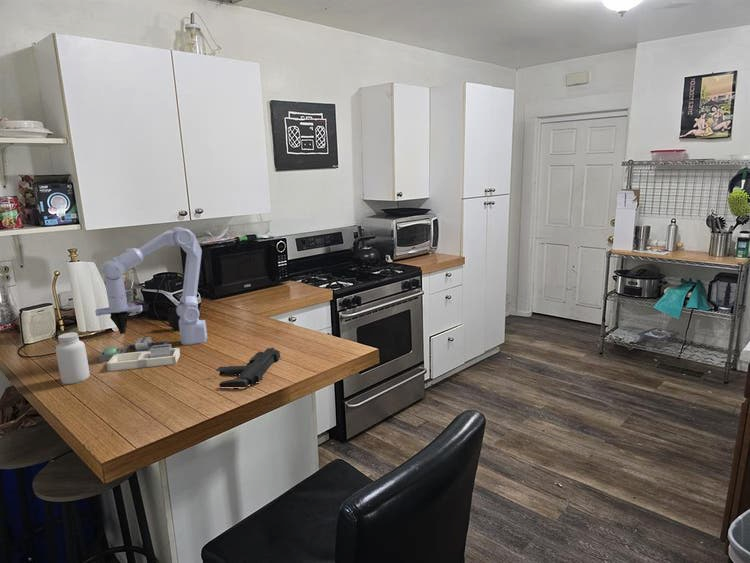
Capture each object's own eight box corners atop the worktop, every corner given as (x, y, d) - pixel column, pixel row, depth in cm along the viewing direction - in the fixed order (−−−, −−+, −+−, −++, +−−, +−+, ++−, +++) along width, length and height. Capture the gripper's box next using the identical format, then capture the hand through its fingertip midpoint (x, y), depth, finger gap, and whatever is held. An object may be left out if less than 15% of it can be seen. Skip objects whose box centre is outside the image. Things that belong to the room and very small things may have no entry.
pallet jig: (180, 357, 172) (179, 347, 171) (176, 366, 164) (175, 356, 163) (115, 363, 168) (114, 354, 167) (108, 374, 159) (106, 364, 158)
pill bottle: (60, 386, 151) (51, 340, 147) (62, 377, 158) (54, 333, 154) (89, 381, 154) (81, 336, 151) (90, 372, 161) (83, 329, 158)
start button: (119, 354, 174) (117, 346, 173) (115, 358, 170) (114, 350, 169) (106, 355, 173) (105, 347, 172) (103, 359, 169) (102, 351, 168)
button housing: (123, 356, 175) (122, 348, 174) (118, 362, 169) (117, 354, 169) (105, 357, 174) (103, 350, 173) (99, 364, 168) (98, 356, 167)
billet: (152, 349, 179) (150, 336, 178) (149, 355, 173) (147, 341, 172) (140, 351, 178) (138, 337, 177) (136, 356, 172) (134, 343, 171)
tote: (168, 346, 183) (167, 340, 182) (162, 358, 171) (161, 351, 171) (128, 351, 180) (127, 344, 179) (119, 363, 168) (118, 356, 168)
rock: (202, 326, 206) (200, 303, 204) (199, 329, 203) (197, 306, 200) (172, 327, 206) (169, 305, 204) (168, 330, 202) (165, 307, 200)
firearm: (232, 355, 176) (285, 353, 173) (191, 392, 147) (254, 390, 144) (230, 347, 176) (284, 344, 173) (189, 382, 146) (253, 379, 144)
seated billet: (154, 359, 168) (152, 345, 167) (173, 357, 169) (171, 343, 168) (152, 363, 164) (149, 349, 163) (171, 361, 165) (169, 347, 164)
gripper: (142, 290, 174) (147, 327, 177) (97, 294, 171) (104, 331, 174) (137, 295, 167) (143, 333, 170) (90, 299, 164) (97, 338, 167)
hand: (123, 332), depth 171 cm, fingers closed
